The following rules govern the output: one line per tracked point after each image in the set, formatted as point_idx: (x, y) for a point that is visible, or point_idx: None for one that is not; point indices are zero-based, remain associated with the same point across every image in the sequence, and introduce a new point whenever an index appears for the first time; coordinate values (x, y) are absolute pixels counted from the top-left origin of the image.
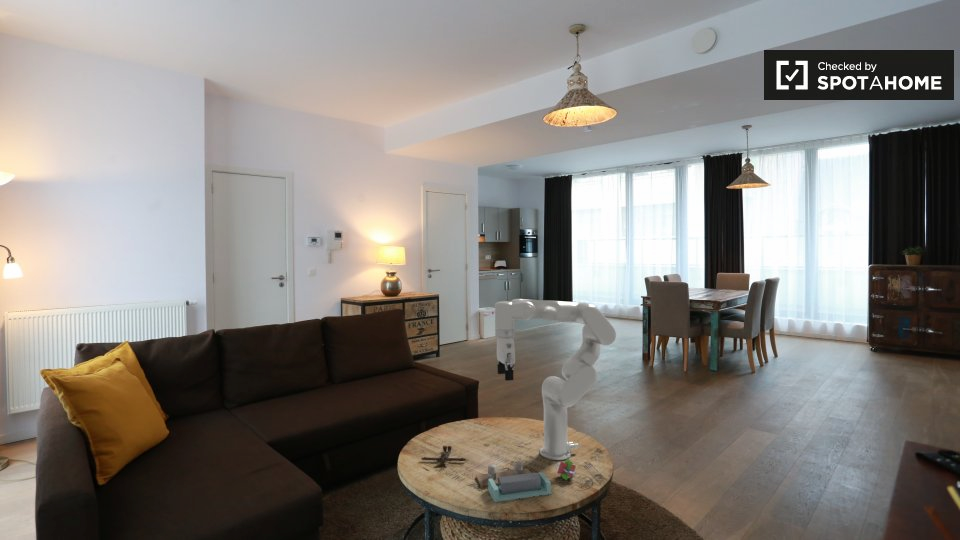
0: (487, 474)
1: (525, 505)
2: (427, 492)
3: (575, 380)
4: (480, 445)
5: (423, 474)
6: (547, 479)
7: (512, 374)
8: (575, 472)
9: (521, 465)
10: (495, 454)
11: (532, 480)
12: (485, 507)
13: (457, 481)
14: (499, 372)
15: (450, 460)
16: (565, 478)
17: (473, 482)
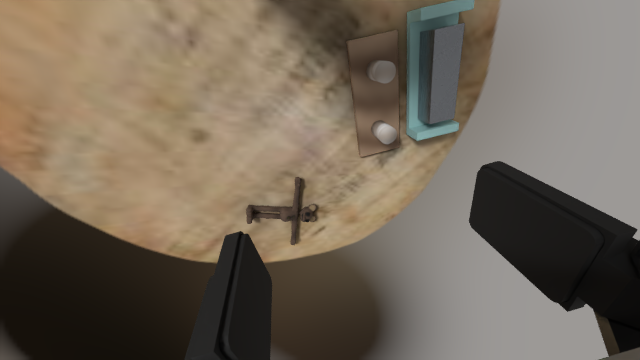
0: (362, 136)
1: (472, 69)
2: (391, 217)
3: None
4: (206, 150)
5: (337, 230)
6: (458, 1)
7: (548, 197)
8: None
9: (393, 64)
10: (255, 115)
11: (460, 46)
12: (453, 138)
13: (367, 183)
14: (268, 285)
15: (298, 202)
16: None
17: (375, 158)
